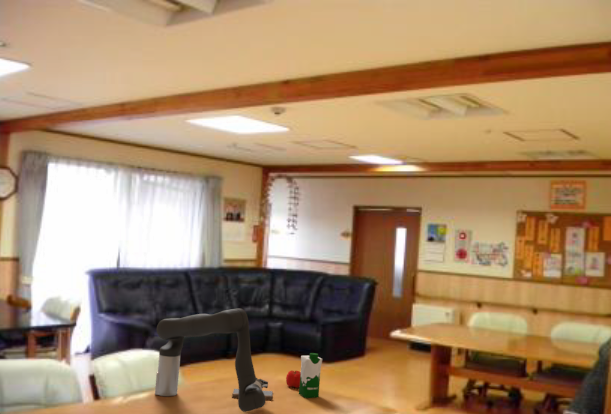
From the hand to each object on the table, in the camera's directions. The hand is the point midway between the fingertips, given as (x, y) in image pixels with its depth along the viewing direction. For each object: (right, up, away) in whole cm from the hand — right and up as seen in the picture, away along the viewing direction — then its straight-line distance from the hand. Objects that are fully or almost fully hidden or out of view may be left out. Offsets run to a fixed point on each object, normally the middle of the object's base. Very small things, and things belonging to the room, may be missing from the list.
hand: (254, 378), depth 268 cm
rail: (-1, -10, +3) cm, 10 cm away
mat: (-1, -10, +10) cm, 14 cm away
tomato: (+18, -12, +29) cm, 36 cm away
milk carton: (+24, -12, +15) cm, 31 cm away
